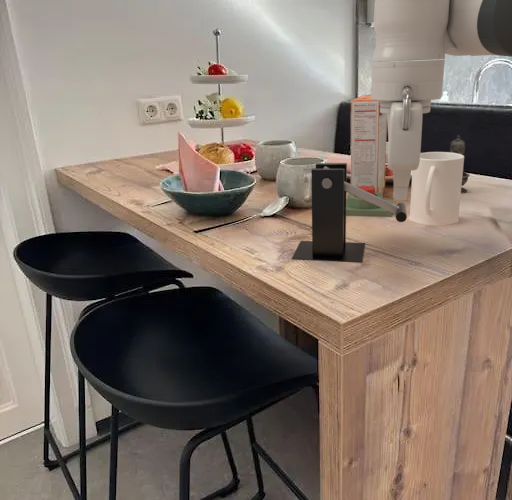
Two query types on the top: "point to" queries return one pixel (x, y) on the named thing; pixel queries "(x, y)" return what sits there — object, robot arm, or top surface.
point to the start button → (368, 189)
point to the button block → (365, 207)
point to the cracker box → (368, 143)
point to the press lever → (377, 201)
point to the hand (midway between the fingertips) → (399, 190)
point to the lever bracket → (329, 218)
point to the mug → (436, 188)
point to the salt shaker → (459, 148)
